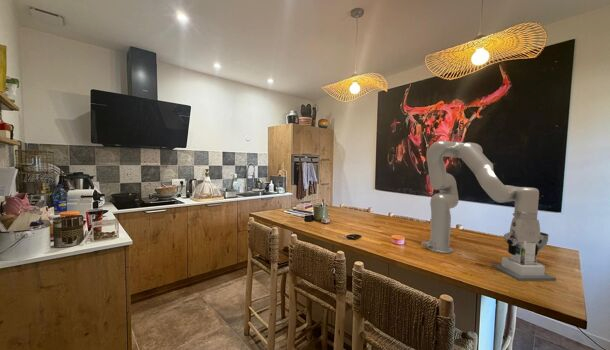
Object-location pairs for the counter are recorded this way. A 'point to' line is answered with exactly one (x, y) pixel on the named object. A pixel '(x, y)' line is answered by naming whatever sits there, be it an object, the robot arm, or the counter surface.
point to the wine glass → (542, 245)
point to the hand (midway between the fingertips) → (522, 254)
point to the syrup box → (524, 253)
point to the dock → (523, 270)
